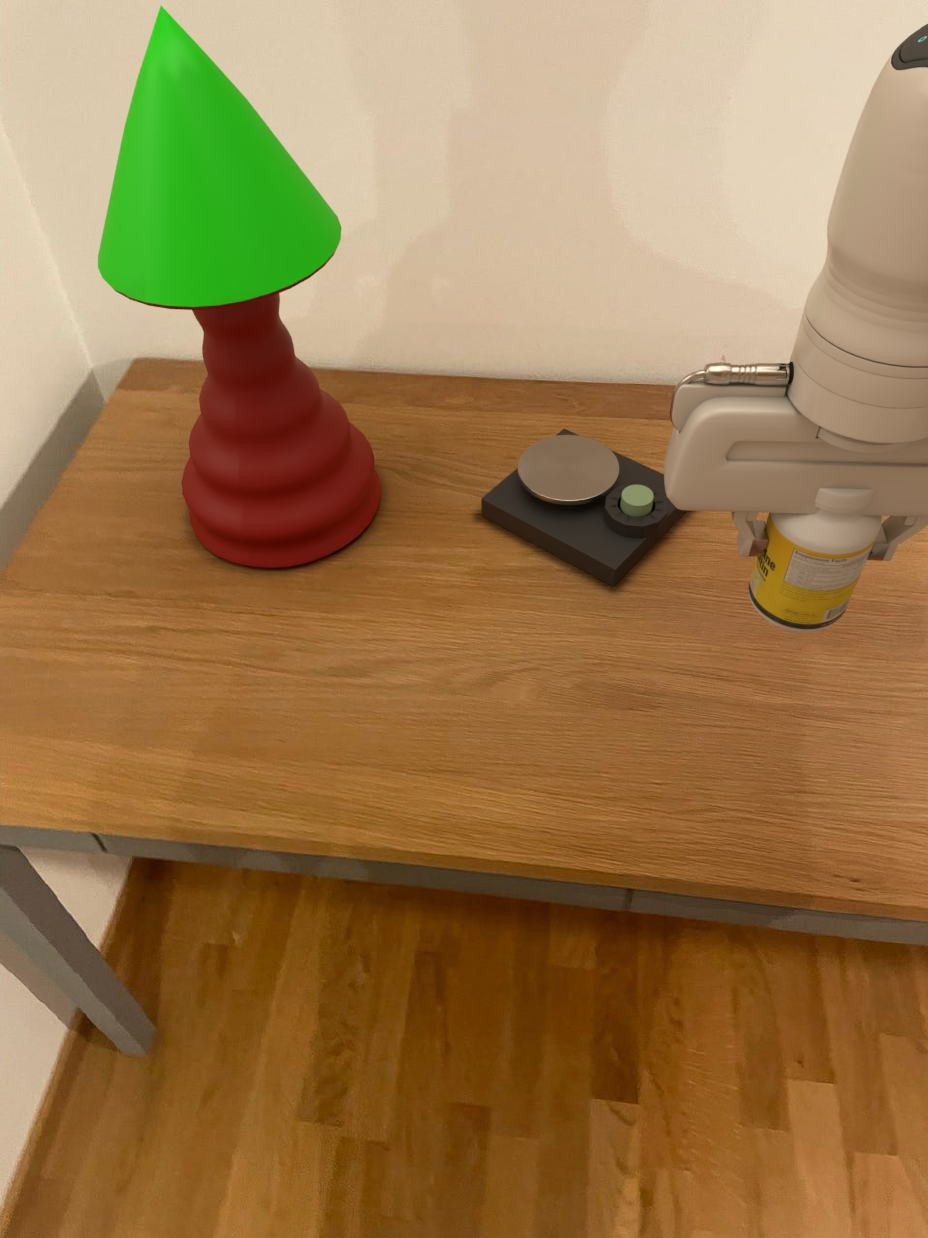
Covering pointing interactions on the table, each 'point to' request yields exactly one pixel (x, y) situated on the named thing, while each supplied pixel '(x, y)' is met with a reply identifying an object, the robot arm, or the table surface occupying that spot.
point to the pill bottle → (814, 561)
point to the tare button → (636, 500)
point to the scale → (587, 521)
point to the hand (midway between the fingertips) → (812, 551)
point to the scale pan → (568, 469)
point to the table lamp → (236, 308)
